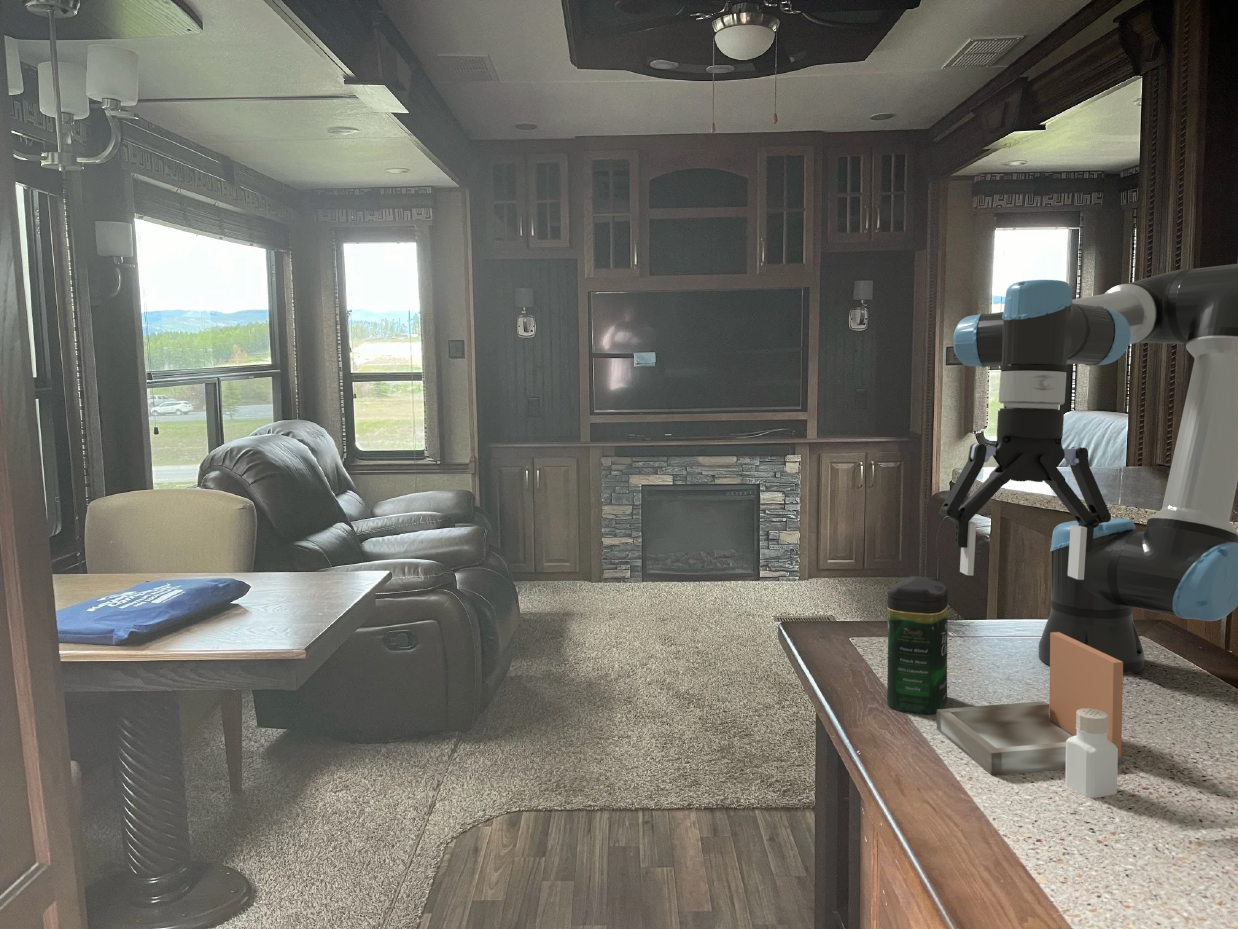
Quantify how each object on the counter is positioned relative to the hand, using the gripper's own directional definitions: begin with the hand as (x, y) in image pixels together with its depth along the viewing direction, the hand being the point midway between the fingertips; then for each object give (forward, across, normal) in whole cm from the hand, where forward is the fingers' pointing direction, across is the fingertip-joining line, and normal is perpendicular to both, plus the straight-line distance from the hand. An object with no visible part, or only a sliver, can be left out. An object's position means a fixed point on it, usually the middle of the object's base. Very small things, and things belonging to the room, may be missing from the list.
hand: (1020, 576), depth 114 cm
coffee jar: (+22, -8, +14) cm, 27 cm away
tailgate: (+20, +9, -1) cm, 22 cm away
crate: (+22, 0, -2) cm, 22 cm away
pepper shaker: (+22, +4, -14) cm, 27 cm away
